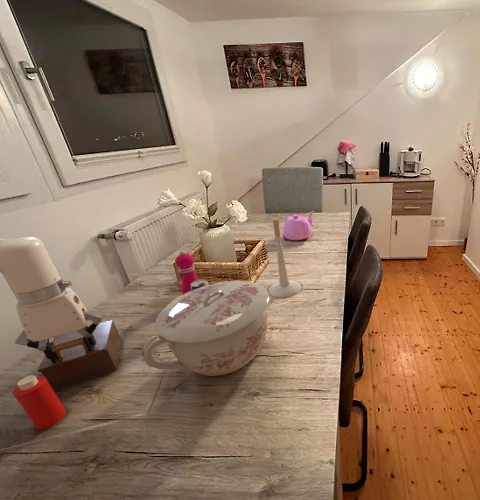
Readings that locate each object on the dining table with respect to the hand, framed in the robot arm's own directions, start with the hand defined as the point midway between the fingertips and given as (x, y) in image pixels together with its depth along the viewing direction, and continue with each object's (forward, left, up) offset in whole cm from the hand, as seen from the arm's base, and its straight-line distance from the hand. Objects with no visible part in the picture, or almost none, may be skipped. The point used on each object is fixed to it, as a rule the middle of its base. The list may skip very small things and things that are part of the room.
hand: (74, 352), depth 70 cm
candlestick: (+54, +28, -9) cm, 61 cm away
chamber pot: (+35, -3, -9) cm, 36 cm away
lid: (-1, +5, -1) cm, 5 cm away
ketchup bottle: (-1, -12, -9) cm, 15 cm away
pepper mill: (+20, +34, -9) cm, 40 cm away
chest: (-1, +5, -9) cm, 10 cm away
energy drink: (+26, +22, -9) cm, 35 cm away
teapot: (+69, +89, -9) cm, 113 cm away
